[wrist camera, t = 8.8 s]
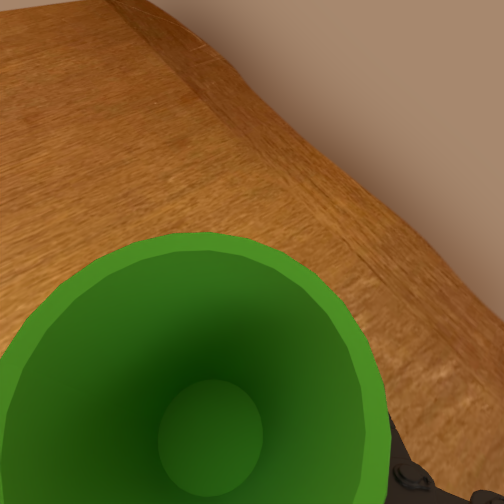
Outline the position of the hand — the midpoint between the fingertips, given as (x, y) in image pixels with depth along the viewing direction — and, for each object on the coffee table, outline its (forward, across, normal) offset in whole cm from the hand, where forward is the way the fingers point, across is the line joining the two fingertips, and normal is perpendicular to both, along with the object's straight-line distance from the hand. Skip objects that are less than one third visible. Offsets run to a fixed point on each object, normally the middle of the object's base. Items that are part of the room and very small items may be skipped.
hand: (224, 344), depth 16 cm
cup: (0, 0, -5) cm, 5 cm away
